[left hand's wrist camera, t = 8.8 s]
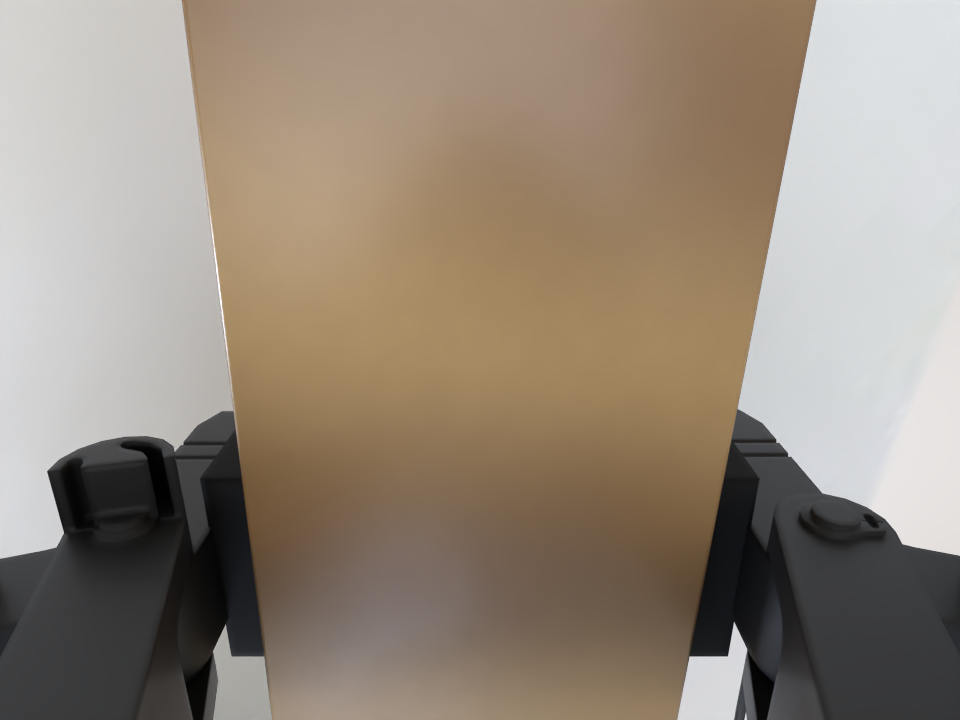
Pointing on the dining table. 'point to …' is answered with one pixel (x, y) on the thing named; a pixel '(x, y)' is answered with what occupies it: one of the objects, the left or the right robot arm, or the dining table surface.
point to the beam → (487, 333)
